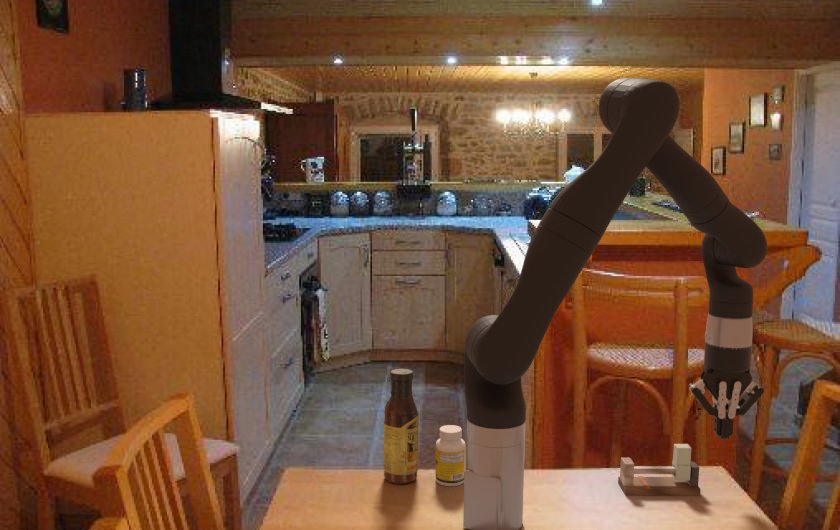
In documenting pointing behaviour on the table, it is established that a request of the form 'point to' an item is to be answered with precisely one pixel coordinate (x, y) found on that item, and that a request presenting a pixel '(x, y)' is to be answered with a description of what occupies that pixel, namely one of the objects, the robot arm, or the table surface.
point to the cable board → (656, 480)
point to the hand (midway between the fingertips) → (722, 437)
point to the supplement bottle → (450, 456)
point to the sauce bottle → (401, 430)
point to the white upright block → (682, 461)
